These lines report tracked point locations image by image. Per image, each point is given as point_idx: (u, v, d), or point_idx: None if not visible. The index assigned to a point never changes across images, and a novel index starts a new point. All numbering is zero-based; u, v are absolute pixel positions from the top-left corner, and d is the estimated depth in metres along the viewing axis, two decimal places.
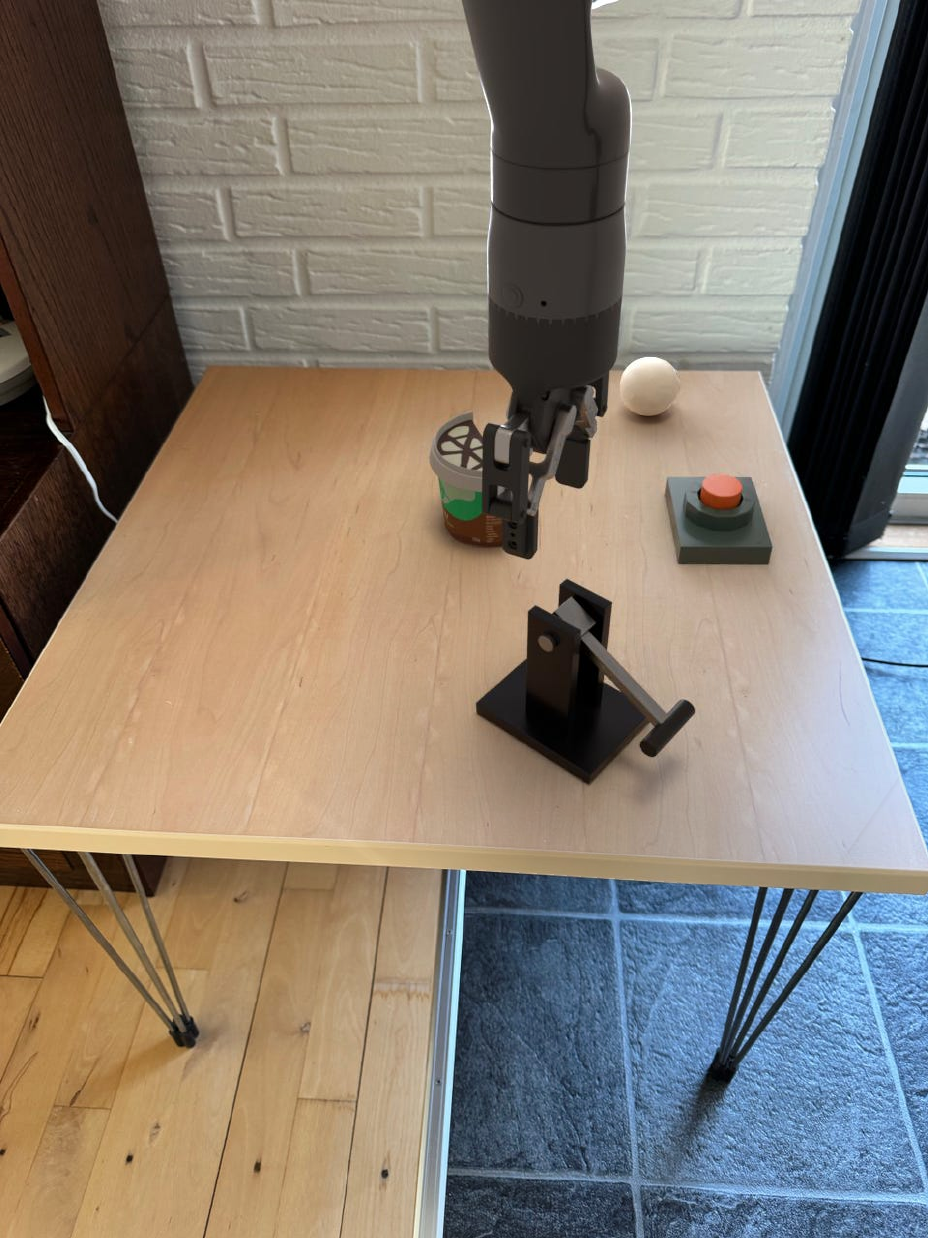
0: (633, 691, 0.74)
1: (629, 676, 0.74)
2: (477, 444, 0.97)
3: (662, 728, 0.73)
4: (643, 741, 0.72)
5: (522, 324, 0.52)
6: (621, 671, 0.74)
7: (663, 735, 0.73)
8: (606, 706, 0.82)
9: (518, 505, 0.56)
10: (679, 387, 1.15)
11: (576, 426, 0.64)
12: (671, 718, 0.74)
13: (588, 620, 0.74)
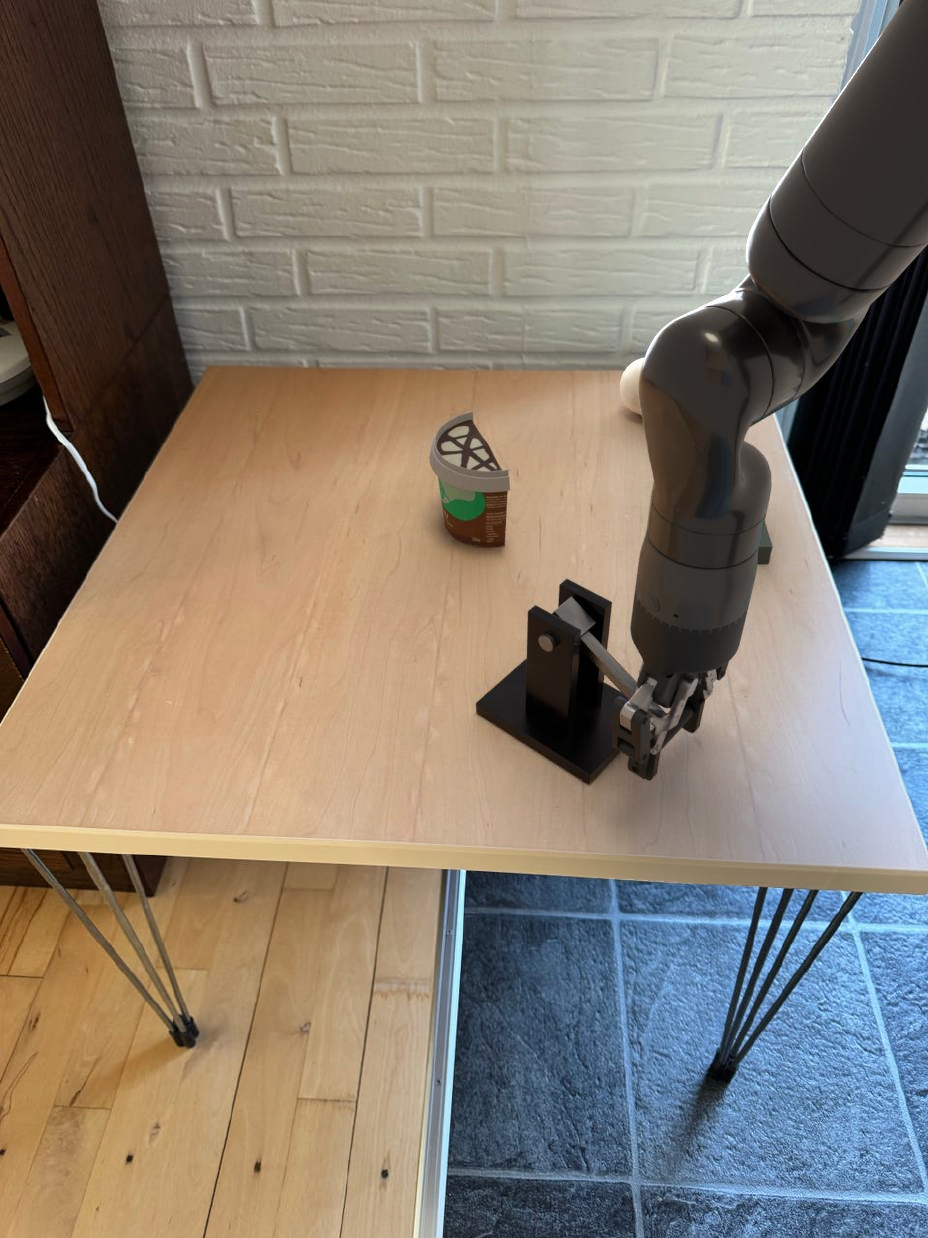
0: (633, 691, 0.74)
1: (629, 676, 0.74)
2: (477, 444, 0.97)
3: None
4: None
5: (657, 624, 0.63)
6: (621, 671, 0.74)
7: None
8: (606, 706, 0.82)
9: (639, 755, 0.68)
10: None
11: None
12: None
13: (588, 620, 0.74)
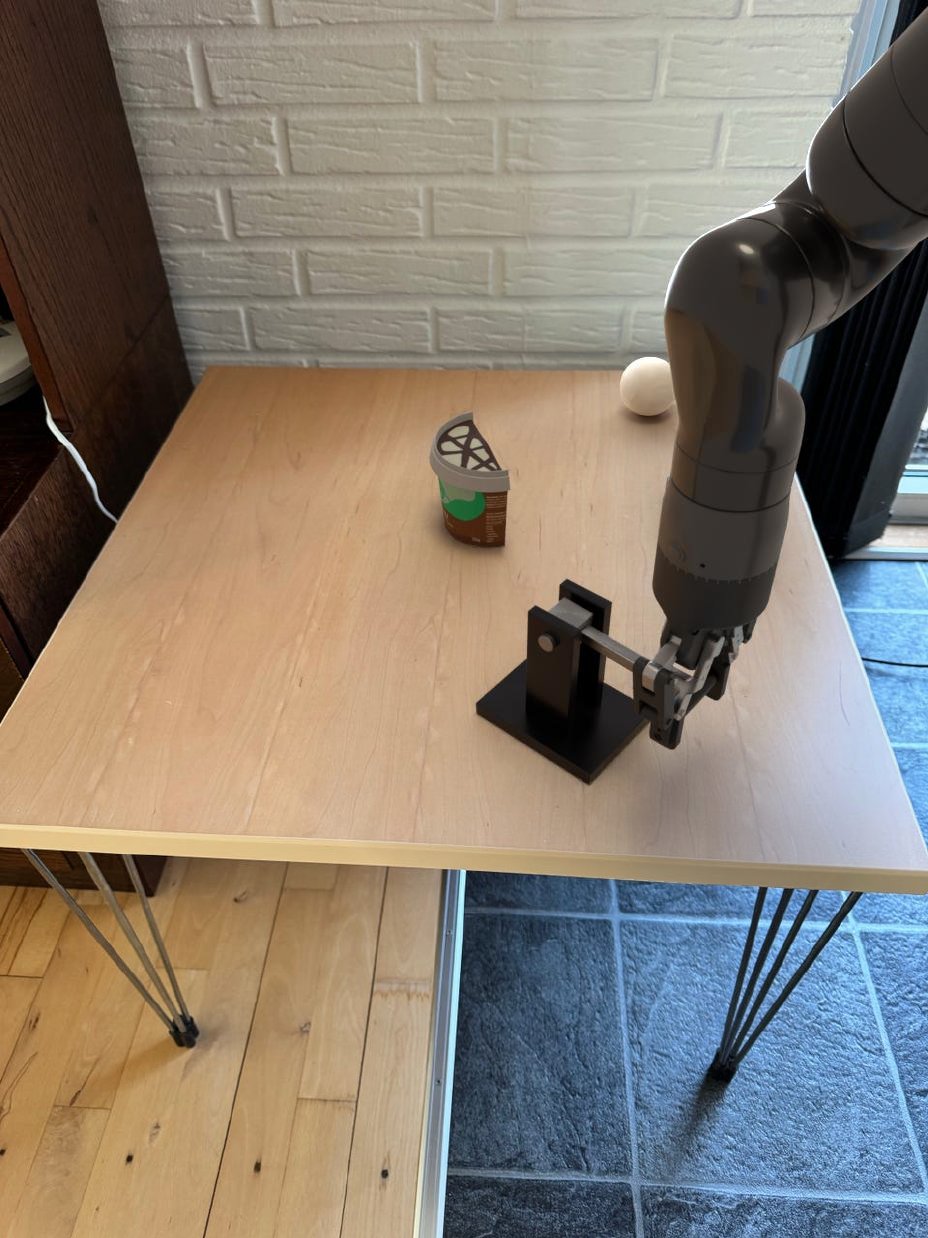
0: None
1: (638, 655, 0.72)
2: (477, 444, 0.97)
3: None
4: None
5: (682, 576, 0.59)
6: (628, 652, 0.72)
7: None
8: (606, 706, 0.82)
9: (663, 719, 0.64)
10: None
11: None
12: None
13: (584, 613, 0.74)
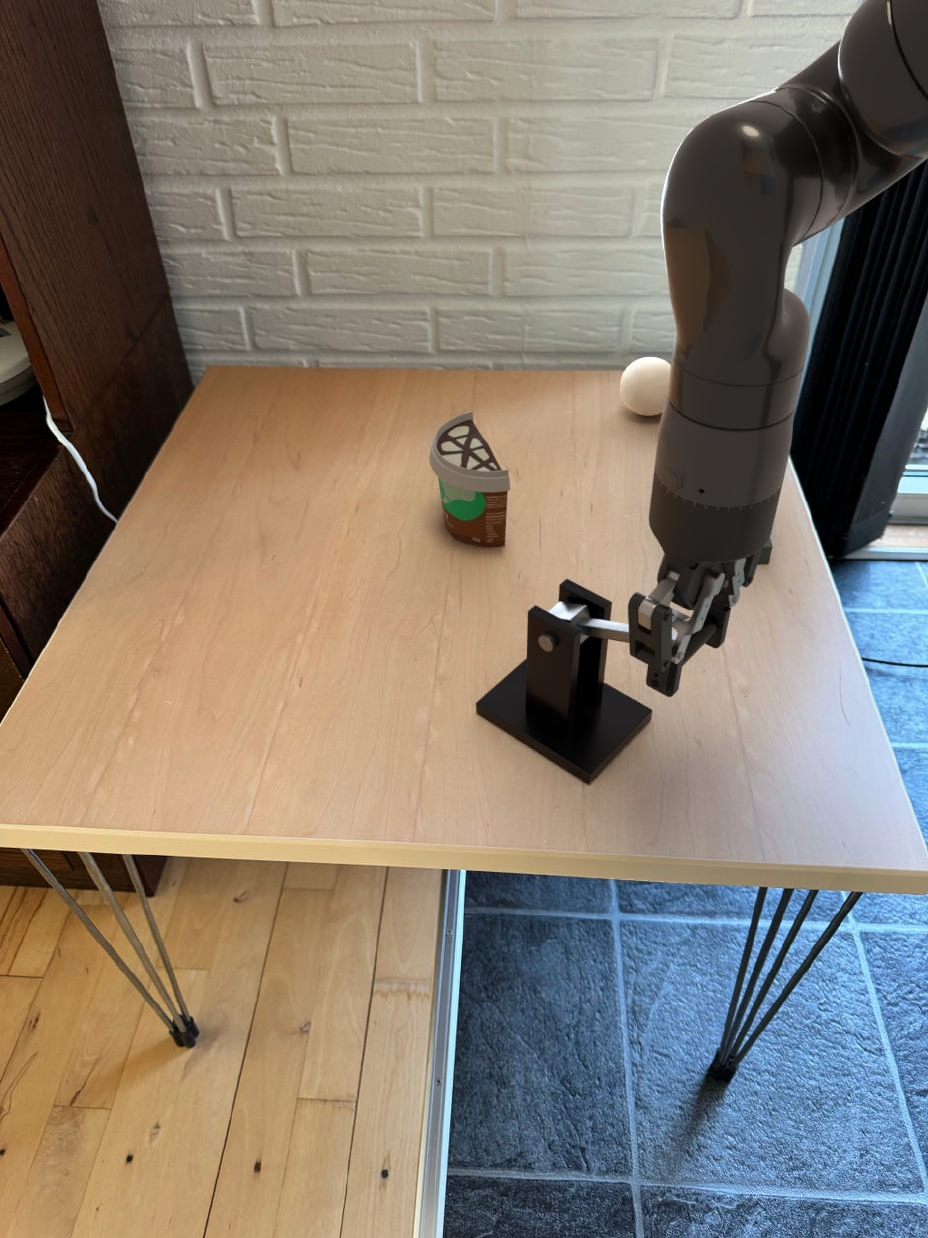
0: None
1: None
2: (477, 444, 0.97)
3: None
4: None
5: (679, 504, 0.56)
6: (624, 626, 0.71)
7: None
8: (606, 706, 0.82)
9: (660, 660, 0.61)
10: None
11: (719, 592, 0.67)
12: None
13: (578, 607, 0.74)
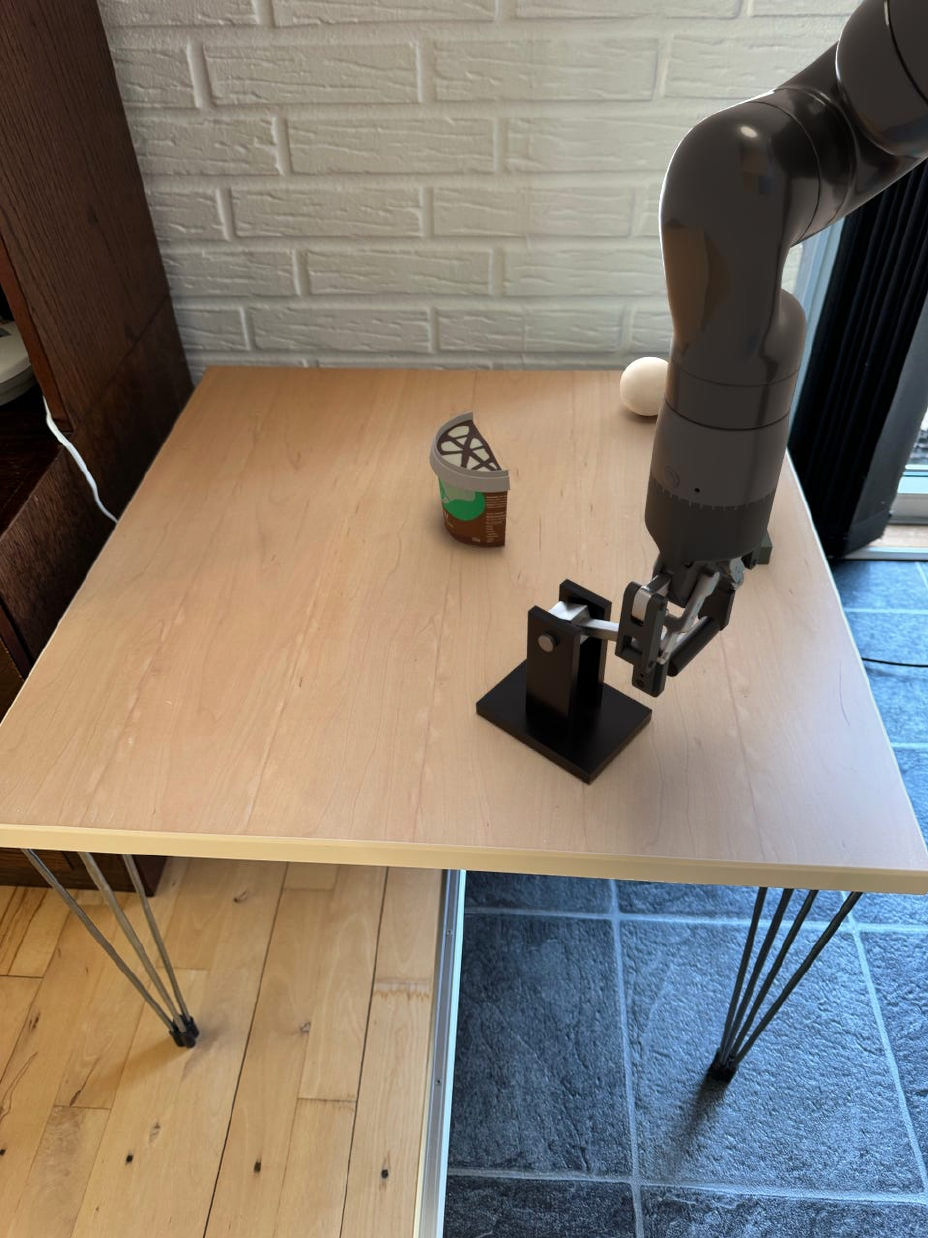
0: None
1: None
2: (477, 444, 0.97)
3: (676, 644, 0.67)
4: None
5: (675, 502, 0.56)
6: None
7: (677, 647, 0.66)
8: (606, 706, 0.82)
9: (647, 657, 0.60)
10: None
11: None
12: (686, 634, 0.67)
13: (579, 607, 0.74)
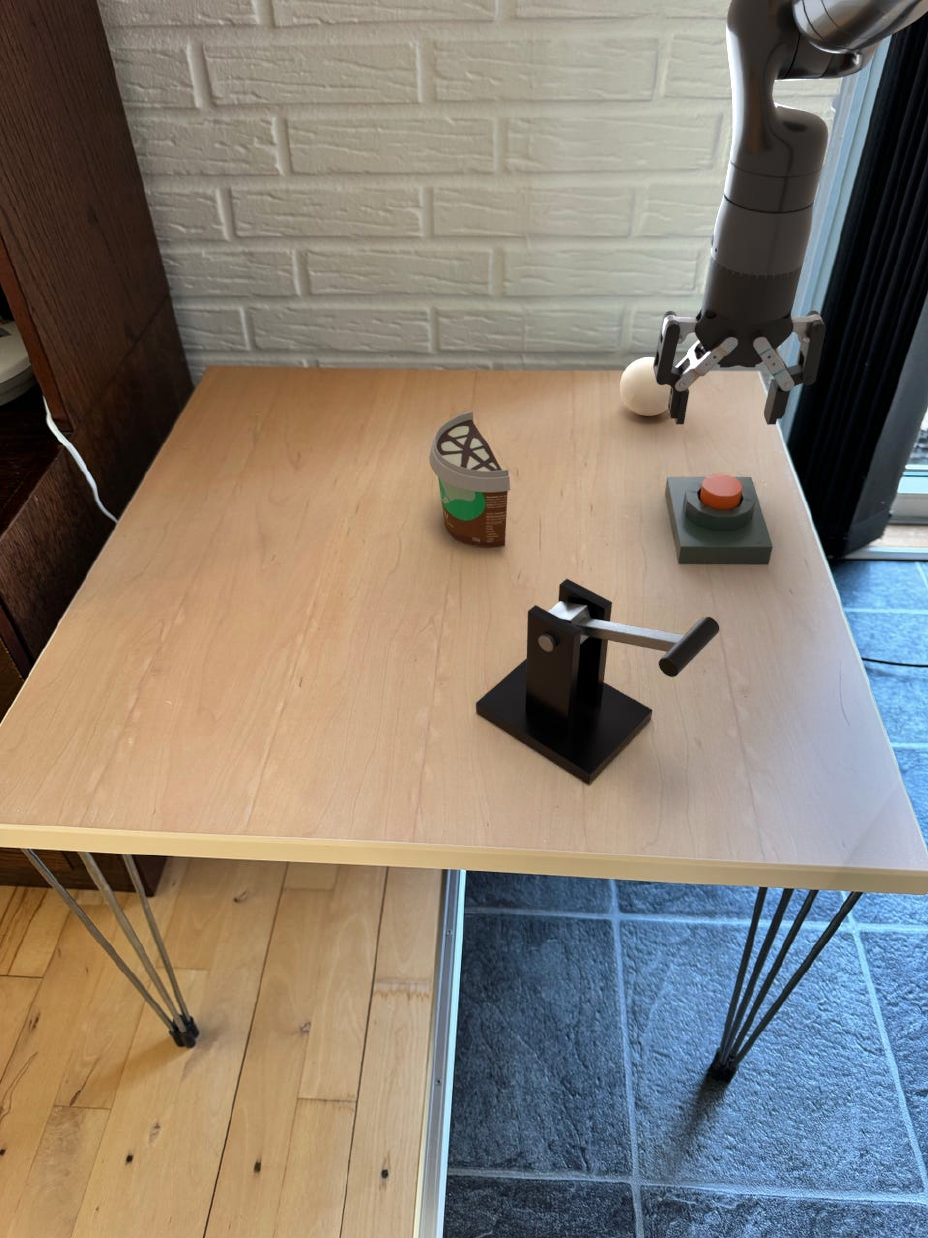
0: (640, 634, 0.70)
1: (634, 627, 0.71)
2: (477, 444, 0.97)
3: (676, 644, 0.67)
4: (659, 662, 0.66)
5: (710, 259, 0.80)
6: (624, 627, 0.71)
7: (677, 647, 0.66)
8: (606, 706, 0.82)
9: (658, 369, 0.86)
10: None
11: None
12: (686, 634, 0.67)
13: (579, 607, 0.74)
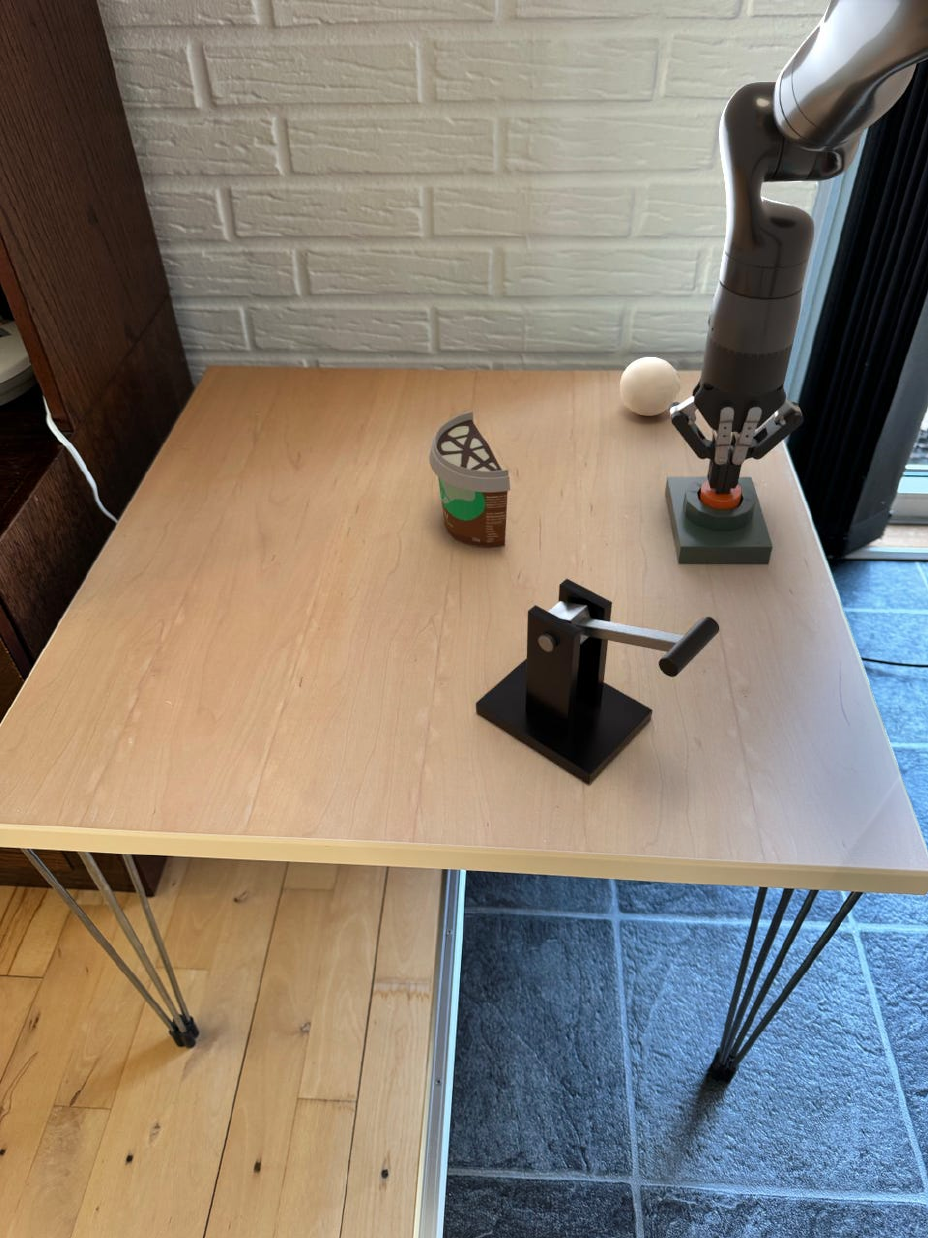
0: (640, 634, 0.70)
1: (634, 627, 0.71)
2: (477, 444, 0.97)
3: (676, 644, 0.67)
4: (659, 662, 0.66)
5: (707, 337, 0.87)
6: (624, 627, 0.71)
7: (677, 647, 0.66)
8: (606, 706, 0.82)
9: (693, 450, 0.93)
10: (679, 387, 1.15)
11: None
12: (686, 634, 0.67)
13: (579, 607, 0.74)
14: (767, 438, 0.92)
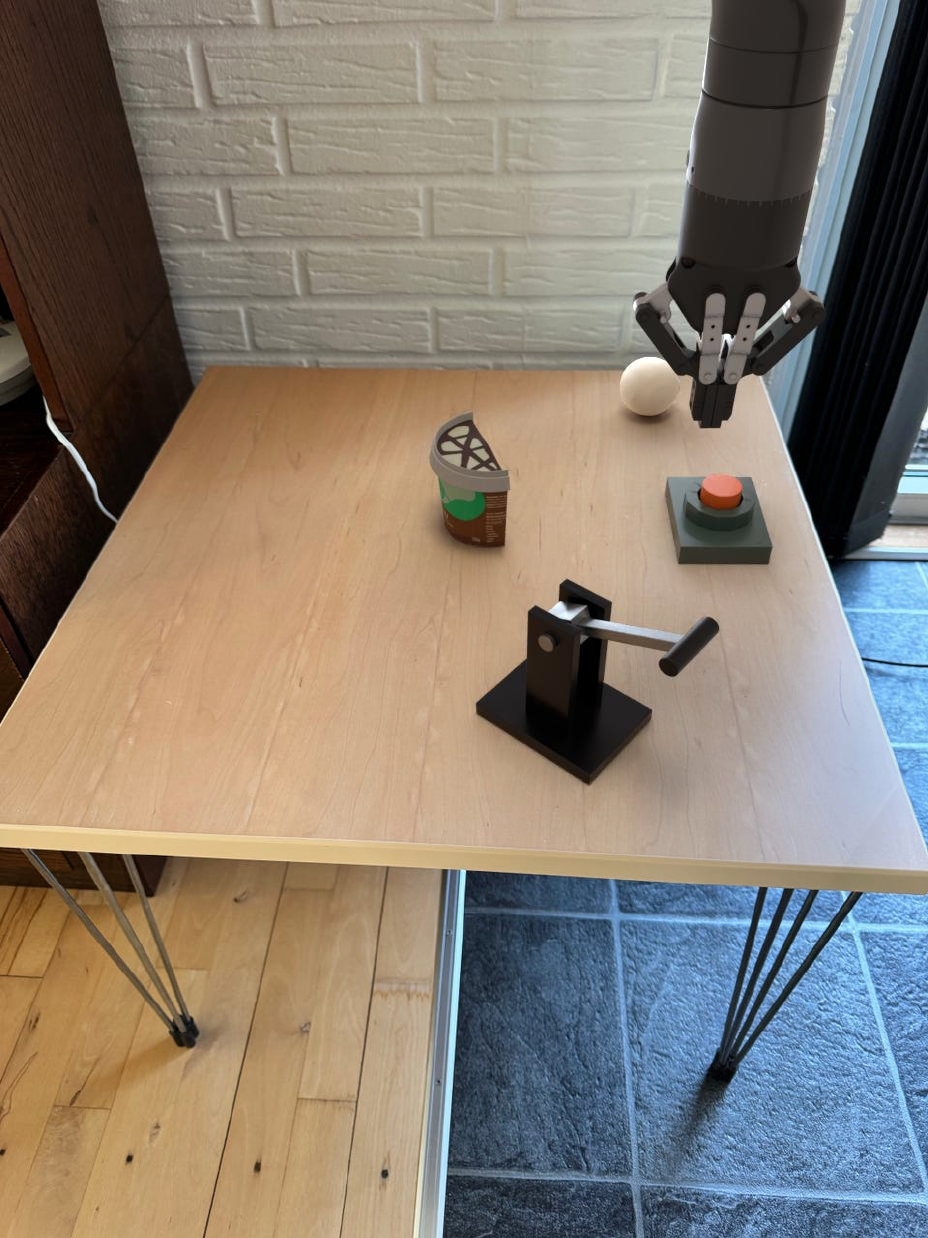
0: (640, 634, 0.70)
1: (634, 627, 0.71)
2: (477, 444, 0.97)
3: (676, 644, 0.67)
4: (659, 662, 0.66)
5: (685, 185, 0.59)
6: (624, 627, 0.71)
7: (677, 647, 0.66)
8: (606, 706, 0.82)
9: (667, 362, 0.66)
10: (679, 387, 1.15)
11: None
12: (686, 634, 0.67)
13: (579, 607, 0.74)
14: (773, 343, 0.64)
